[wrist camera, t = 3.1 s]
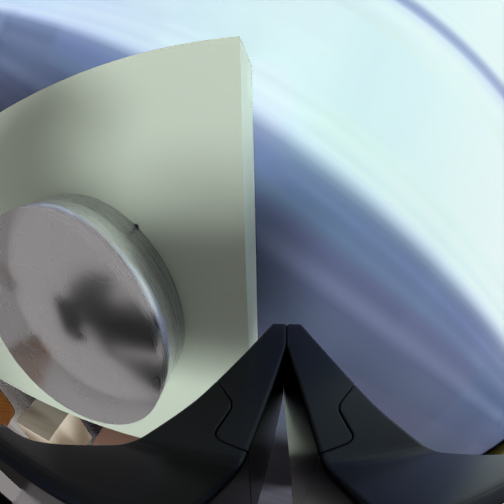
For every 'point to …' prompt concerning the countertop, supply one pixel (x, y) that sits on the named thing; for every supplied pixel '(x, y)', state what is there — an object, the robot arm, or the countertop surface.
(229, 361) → the pocket deck
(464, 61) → the countertop surface
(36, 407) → the birch cube
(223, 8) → the countertop surface
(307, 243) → the countertop surface
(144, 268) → the metal puck
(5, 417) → the disposable coffee cup
